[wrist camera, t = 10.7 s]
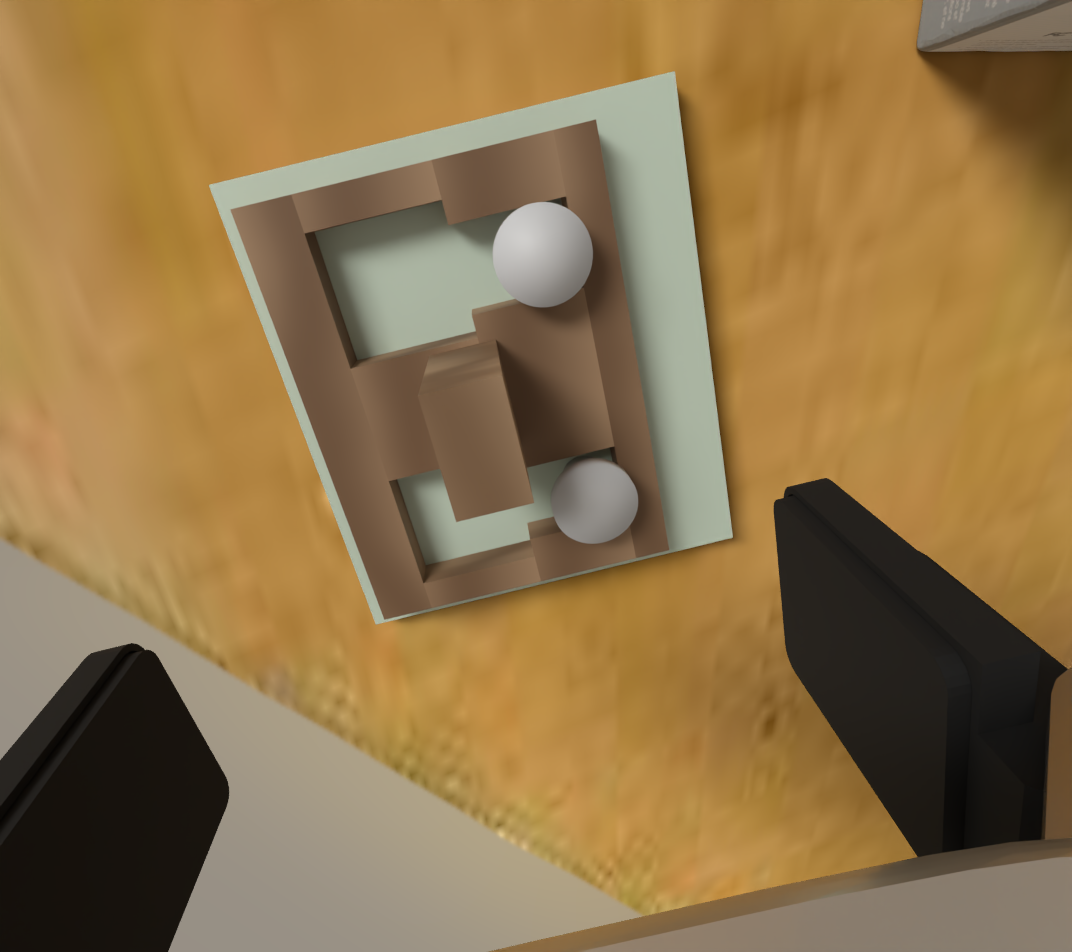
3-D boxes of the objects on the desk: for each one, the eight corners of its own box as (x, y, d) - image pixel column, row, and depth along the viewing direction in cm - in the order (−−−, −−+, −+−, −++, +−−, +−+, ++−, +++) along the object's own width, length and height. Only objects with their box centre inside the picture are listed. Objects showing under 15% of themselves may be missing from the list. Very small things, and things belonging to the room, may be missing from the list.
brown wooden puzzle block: (588, 124, 23) (634, 90, 16) (659, 533, 29) (714, 628, 22) (245, 209, 23) (154, 209, 16) (388, 599, 29) (364, 713, 22)
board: (664, 77, 23) (702, 52, 20) (723, 525, 30) (759, 570, 26) (221, 186, 23) (173, 181, 20) (379, 609, 30) (366, 666, 26)
